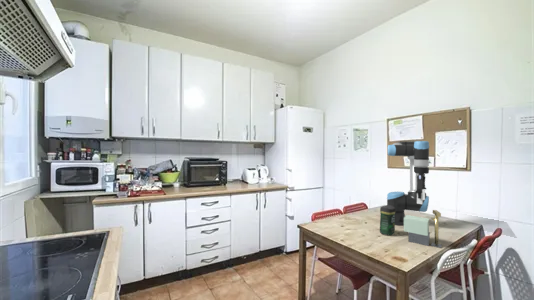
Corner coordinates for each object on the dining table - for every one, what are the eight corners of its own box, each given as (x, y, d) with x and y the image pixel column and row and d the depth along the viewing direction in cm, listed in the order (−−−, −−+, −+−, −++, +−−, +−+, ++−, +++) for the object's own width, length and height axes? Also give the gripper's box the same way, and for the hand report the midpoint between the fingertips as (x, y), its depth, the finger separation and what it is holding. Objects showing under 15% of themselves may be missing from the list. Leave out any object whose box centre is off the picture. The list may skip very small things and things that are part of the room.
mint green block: (403, 231, 140) (403, 218, 140) (406, 227, 147) (406, 214, 147) (427, 235, 132) (427, 222, 132) (429, 231, 139) (429, 218, 139)
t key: (431, 240, 138) (431, 209, 138) (436, 241, 137) (436, 209, 137) (435, 246, 130) (436, 212, 130) (441, 246, 129) (441, 213, 129)
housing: (408, 241, 139) (408, 231, 139) (410, 238, 144) (410, 228, 144) (440, 248, 129) (441, 238, 129) (441, 245, 134) (441, 234, 134)
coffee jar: (390, 236, 146) (390, 207, 146) (377, 233, 153) (378, 205, 152) (397, 233, 152) (397, 205, 152) (384, 230, 158) (385, 203, 158)
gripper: (426, 168, 126) (426, 206, 126) (430, 165, 145) (430, 199, 145) (410, 167, 130) (410, 204, 131) (416, 165, 150) (416, 197, 150)
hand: (420, 201), depth 138 cm, fingers open, 13 cm apart
